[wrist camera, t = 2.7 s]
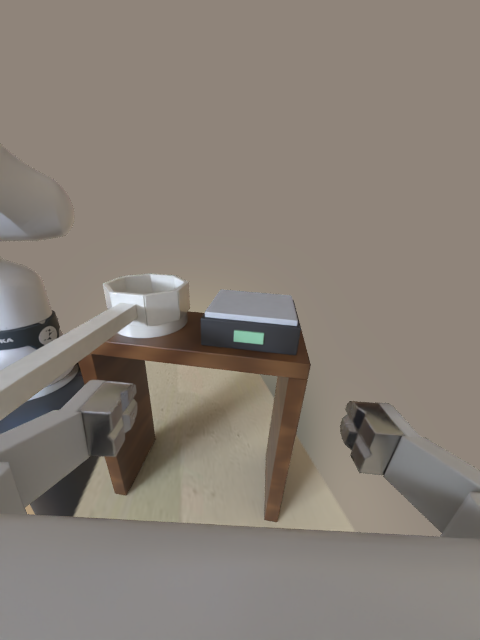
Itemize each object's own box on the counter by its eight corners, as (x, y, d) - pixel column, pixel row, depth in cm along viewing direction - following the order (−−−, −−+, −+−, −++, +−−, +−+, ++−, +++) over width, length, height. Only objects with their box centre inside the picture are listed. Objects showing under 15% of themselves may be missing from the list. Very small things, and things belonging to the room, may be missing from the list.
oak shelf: (114, 493, 29) (71, 337, 20) (146, 437, 36) (125, 305, 27) (277, 522, 27) (311, 364, 18) (276, 457, 34) (299, 322, 25)
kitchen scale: (200, 346, 19) (199, 313, 18) (218, 314, 26) (218, 288, 25) (296, 357, 19) (302, 323, 17) (290, 321, 25) (294, 294, 24)
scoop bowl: (-106, 466, 10) (-171, 390, 8) (137, 306, 27) (132, 271, 25) (50, 495, 9) (14, 418, 7) (196, 311, 26) (195, 276, 24)
